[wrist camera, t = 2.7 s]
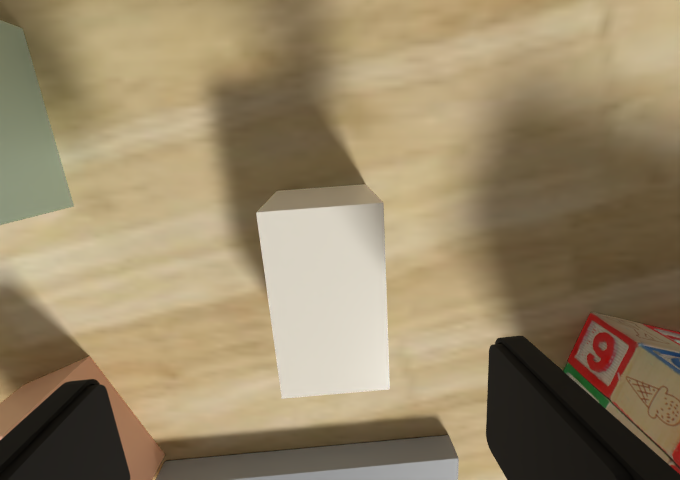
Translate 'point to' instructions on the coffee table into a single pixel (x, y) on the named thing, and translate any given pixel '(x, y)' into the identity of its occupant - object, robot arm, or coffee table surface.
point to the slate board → (328, 463)
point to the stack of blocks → (633, 378)
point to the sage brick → (26, 137)
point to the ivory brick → (326, 289)
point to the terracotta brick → (133, 435)
